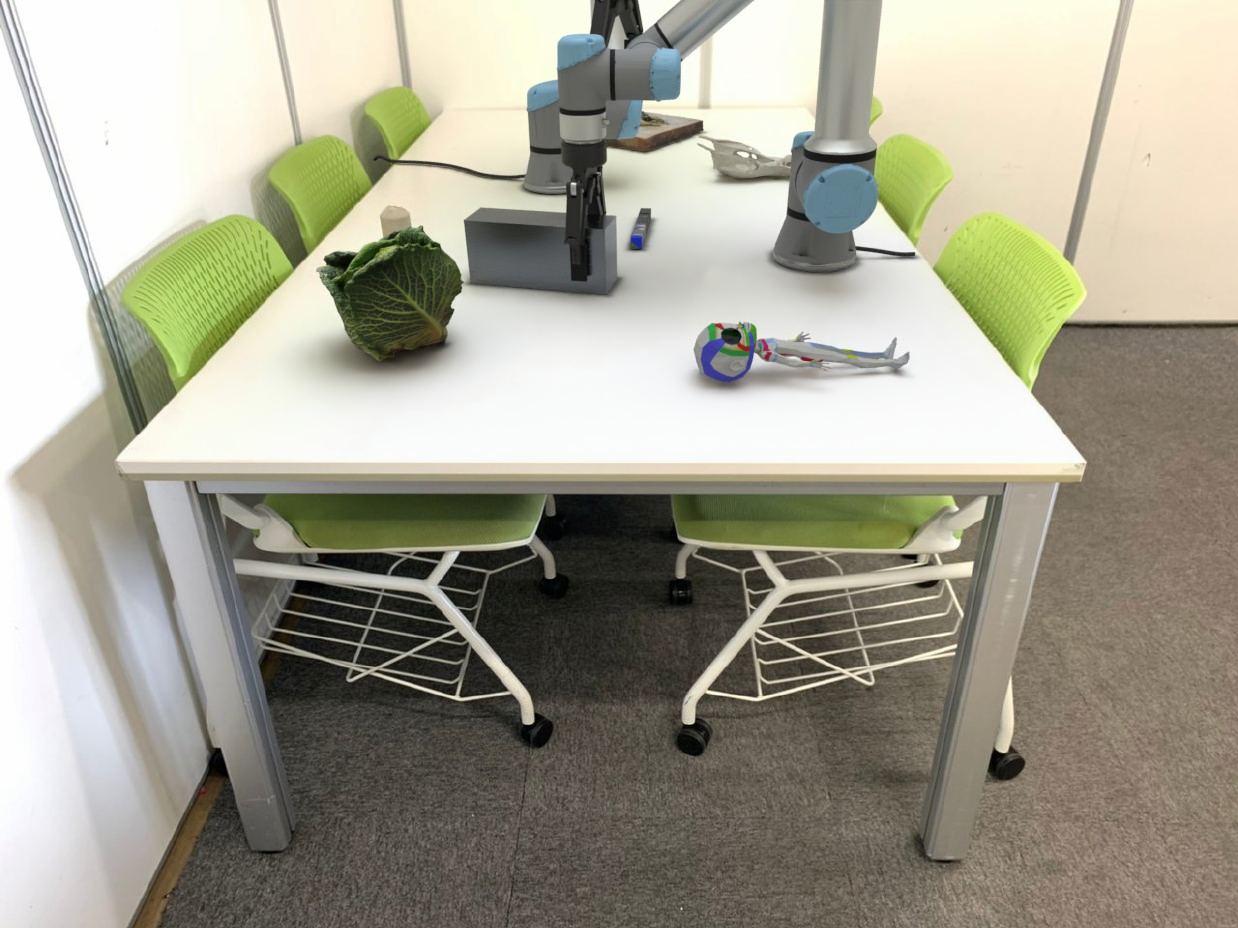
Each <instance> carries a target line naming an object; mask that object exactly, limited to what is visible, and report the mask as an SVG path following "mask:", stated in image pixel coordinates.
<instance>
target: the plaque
mask: <svg viewBox="0 0 1238 928" xmlns="http://www.w3.org/2000/svg"><path fill="white" fill-rule="evenodd" d="M704 130H705V129H704V120H702V119H698V118H693V117H685V116H679V115H669V114H663V113H659V112H650V111H644V110H642V114H641V122H640V128H639V132H638V134H637V135H636V136H635V137H634V138H627V139H620V140H617V139H605V141H606V142H607V147H612V148H620V149H625V150H632V151H640V152H648V151H654V150H656V149H659V148H662V147H663V146H664V147H665V146H667V145H670V144H672V143H676V142H680V141H682V140H684V139H687V138H691V137H692V136H694V135H696V134H698V133H700V132H704Z"/></svg>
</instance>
